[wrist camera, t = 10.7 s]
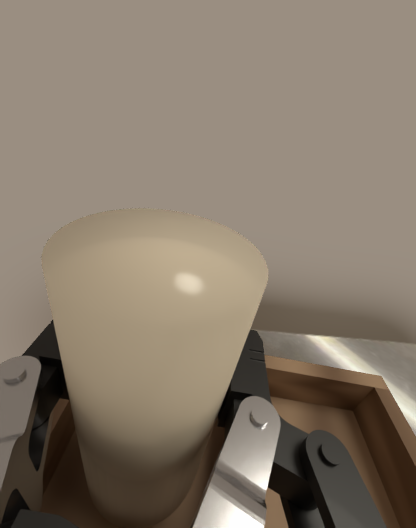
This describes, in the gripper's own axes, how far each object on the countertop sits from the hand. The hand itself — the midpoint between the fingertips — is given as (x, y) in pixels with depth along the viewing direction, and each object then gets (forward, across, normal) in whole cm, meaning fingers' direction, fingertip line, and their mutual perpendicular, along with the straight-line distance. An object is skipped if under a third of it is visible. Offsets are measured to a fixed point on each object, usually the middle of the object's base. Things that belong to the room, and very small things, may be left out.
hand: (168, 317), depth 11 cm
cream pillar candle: (-3, 0, +7) cm, 7 cm away
